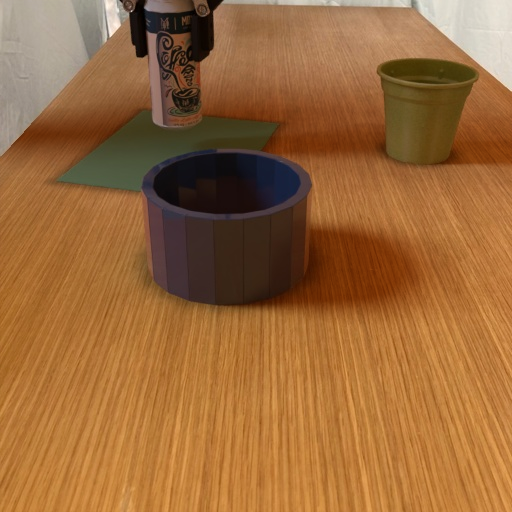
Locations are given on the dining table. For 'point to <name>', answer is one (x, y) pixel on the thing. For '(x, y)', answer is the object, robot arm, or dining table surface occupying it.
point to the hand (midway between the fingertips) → (173, 54)
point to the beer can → (172, 64)
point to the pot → (227, 225)
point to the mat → (160, 148)
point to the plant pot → (423, 106)
